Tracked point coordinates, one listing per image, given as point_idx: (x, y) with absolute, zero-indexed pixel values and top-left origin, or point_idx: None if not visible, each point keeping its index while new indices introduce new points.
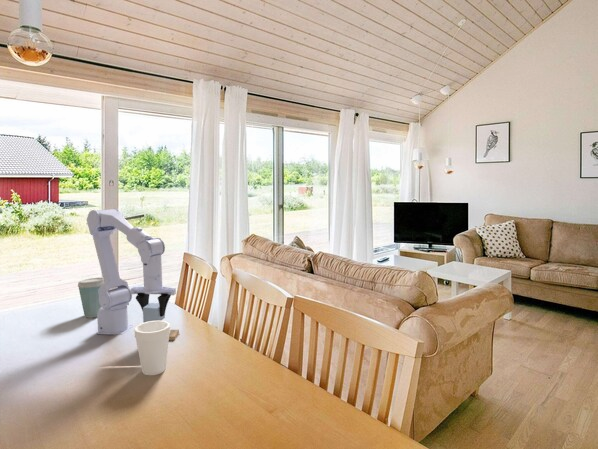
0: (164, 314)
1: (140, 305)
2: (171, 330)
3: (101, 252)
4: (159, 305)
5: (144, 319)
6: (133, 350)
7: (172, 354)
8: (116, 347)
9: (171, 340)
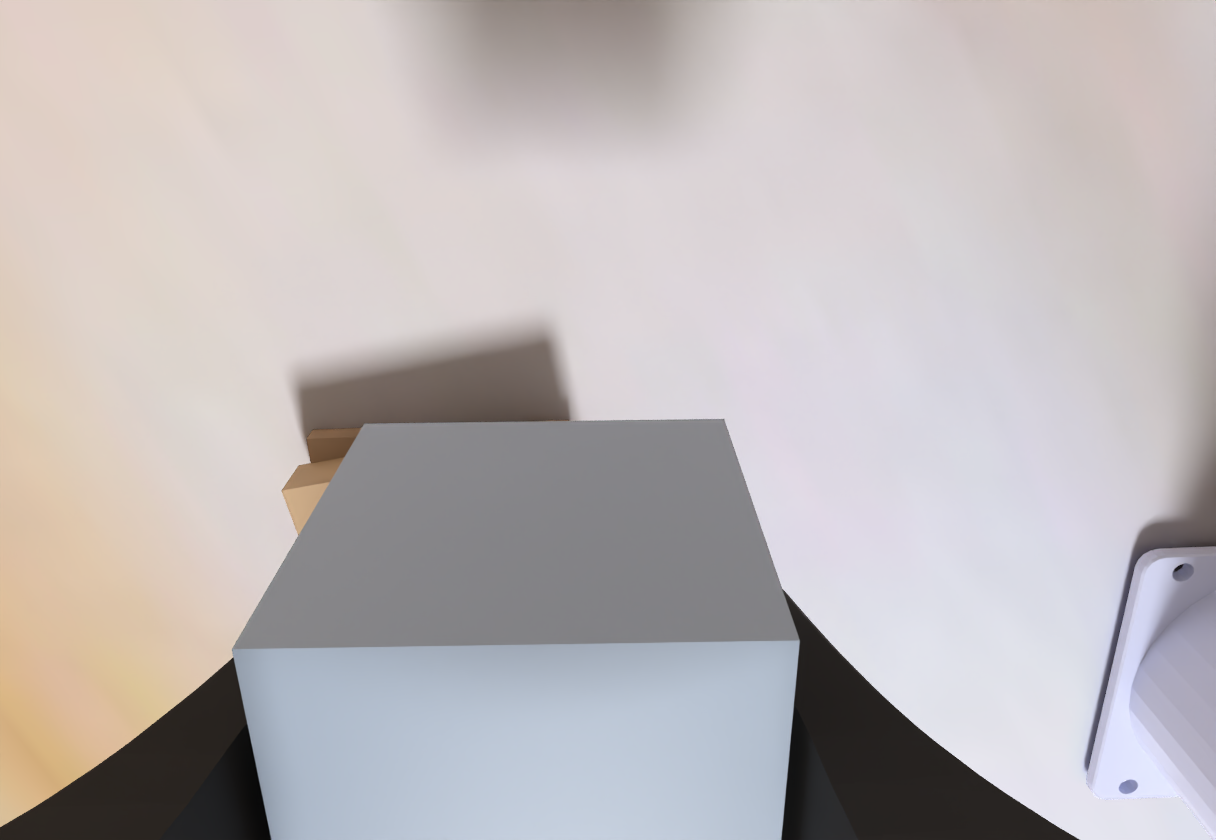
0: None
1: (945, 755)
2: None
3: None
4: (197, 793)
5: (703, 450)
6: (760, 86)
7: (66, 14)
8: (1071, 161)
9: (338, 443)
